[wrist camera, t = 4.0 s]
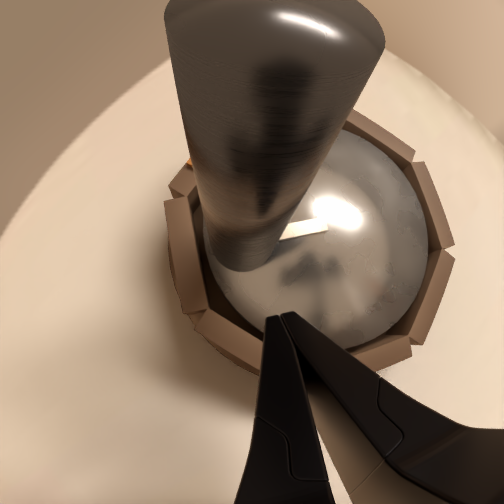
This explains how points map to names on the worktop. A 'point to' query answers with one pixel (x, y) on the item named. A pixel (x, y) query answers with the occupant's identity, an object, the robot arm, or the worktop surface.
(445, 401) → the worktop surface
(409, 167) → the dial housing
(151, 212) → the worktop surface
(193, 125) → the dial
